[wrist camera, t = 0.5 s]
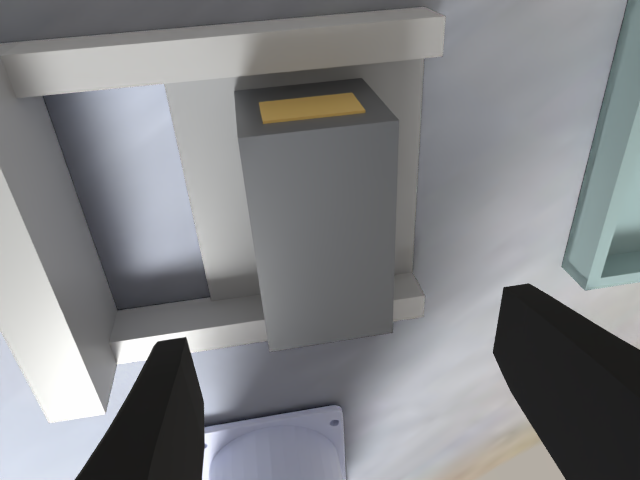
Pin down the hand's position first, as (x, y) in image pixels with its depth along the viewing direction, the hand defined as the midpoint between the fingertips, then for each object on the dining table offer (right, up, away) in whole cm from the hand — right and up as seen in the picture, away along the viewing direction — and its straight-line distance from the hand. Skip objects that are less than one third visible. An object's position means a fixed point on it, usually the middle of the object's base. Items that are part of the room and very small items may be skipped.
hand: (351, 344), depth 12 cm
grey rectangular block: (-1, +4, +8) cm, 10 cm away
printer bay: (-4, +4, +8) cm, 10 cm away
